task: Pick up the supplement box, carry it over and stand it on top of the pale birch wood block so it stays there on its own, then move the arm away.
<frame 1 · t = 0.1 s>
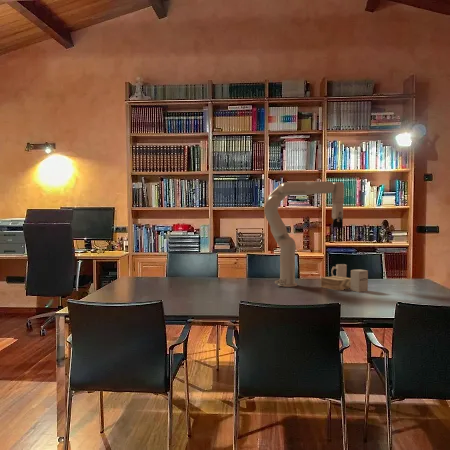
hand: (337, 227, 296), 37 cm above the table, tool pointing down, fingers open, 9 cm apart
birch block: (337, 287, 288), on the table
supplement box: (359, 291, 277), on the table
mug: (338, 282, 306), on the table
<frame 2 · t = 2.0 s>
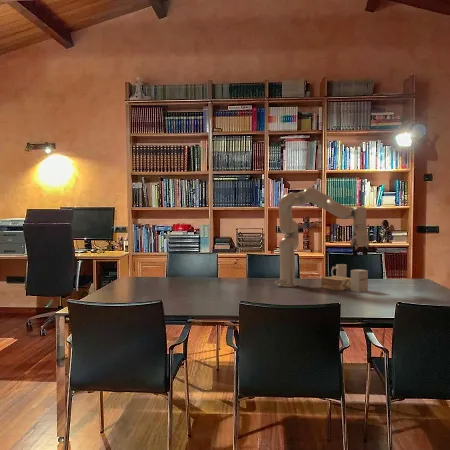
hand: (360, 255, 276), 21 cm above the table, tool pointing down, fingers open, 9 cm apart
nothing on the table moved.
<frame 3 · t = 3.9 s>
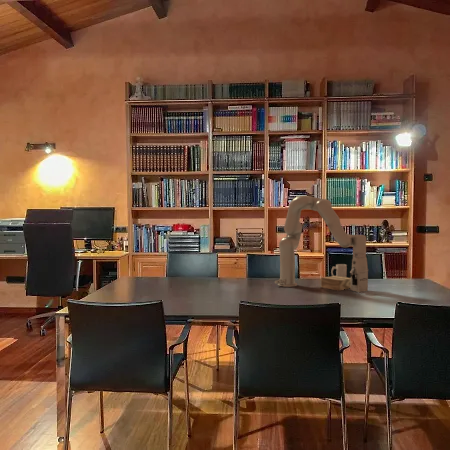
hand: (359, 284, 277), 4 cm above the table, tool pointing down, fingers closed on supplement box, 8 cm apart
supplement box: (359, 291, 277), on the table, touching gripper
everything else where it was.
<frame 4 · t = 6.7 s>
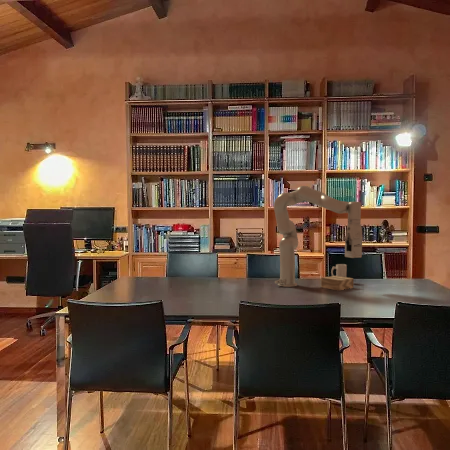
hand: (353, 250, 279), 24 cm above the table, tool pointing down, fingers closed on supplement box, 8 cm apart
supplement box: (353, 257, 279), point 20 cm above the table, touching gripper
everything else where it was.
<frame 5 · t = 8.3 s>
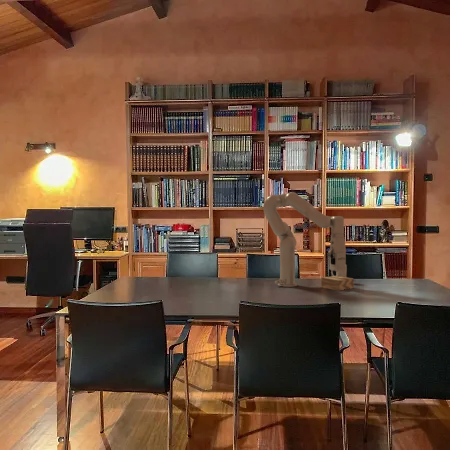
hand: (337, 263, 288), 15 cm above the table, tool pointing down, fingers closed on supplement box, 7 cm apart
supplement box: (337, 270, 288), point 11 cm above the table, touching gripper
everything else where it was.
when the fingers open (11 cm above the table, at t = 9.7 s): supplement box drops 1 cm, resting on birch block.
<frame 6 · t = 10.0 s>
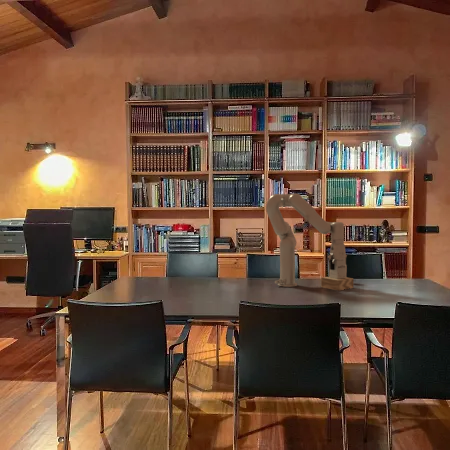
hand: (337, 268, 288), 12 cm above the table, tool pointing down, fingers open, 9 cm apart
supplement box: (337, 278, 288), point 6 cm above the table, touching birch block
everything else where it was.
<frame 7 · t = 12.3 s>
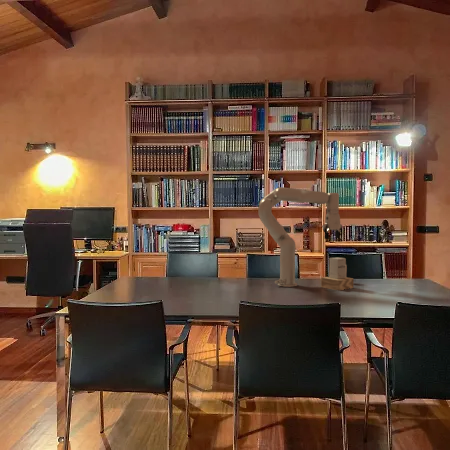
hand: (332, 238, 295), 30 cm above the table, tool pointing down, fingers open, 9 cm apart
nothing on the table moved.
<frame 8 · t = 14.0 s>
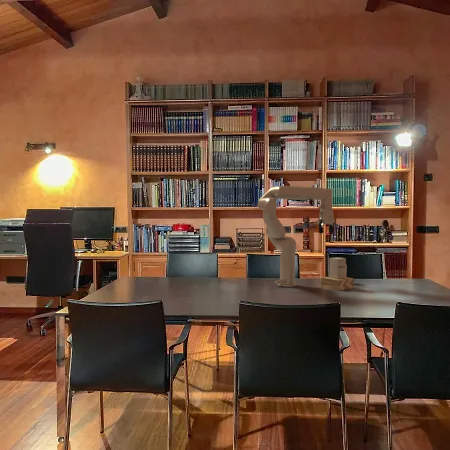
hand: (326, 232, 306), 33 cm above the table, tool pointing down, fingers open, 9 cm apart
nothing on the table moved.
at the end: supplement box inside the target area on the birch block (0.4 cm from its centre), point 5.8 cm above the birch block's base; supplement box tilted 0°; the gripper is holding nothing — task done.
